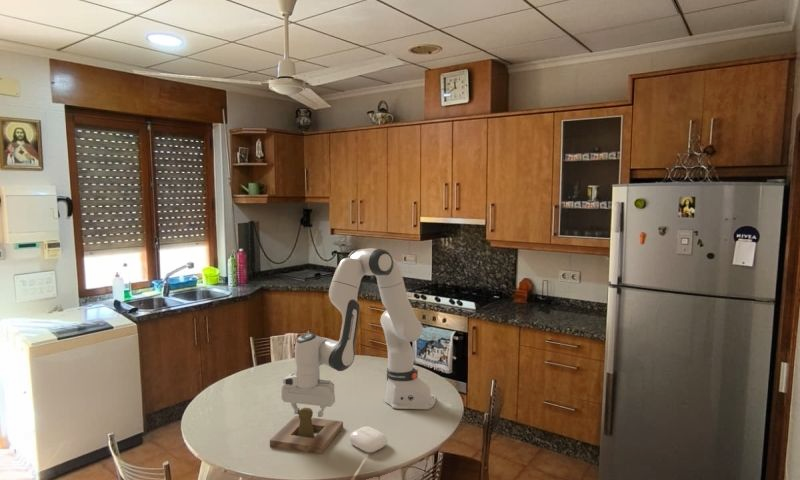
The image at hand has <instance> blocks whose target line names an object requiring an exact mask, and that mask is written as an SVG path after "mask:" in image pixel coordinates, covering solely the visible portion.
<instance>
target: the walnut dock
mask: <svg viewBox="0 0 800 480" xmlns="http://www.w3.org/2000/svg"><path fill="white" fill-rule="evenodd" d="M311 419H312V426H313V432H318V433H317V434H316V436H315V437H313V438H309V437H302V436H298V432H299V424H300V418H299V415H294V417H293V418H291V420H289V422H287V423H286V424H285V425H284V426H283V427H282V428H281V429H280V430H279V431H277V432H276V434H274V435H273V436H272V437H271V438H270V439H269V447H270V448H276V449H284V450H289V451H290V450H291V451H297V452H303V453H310V454H317V455H323V453H324V452H325V451H326V450H327V449H328V447H329V446H330V445H331V443H332V442H333V441H334V440H335V438H336V437H337V436H338V435H339V434H340V432H341V431H342V430H343V429H344V421H341V420H340V421H339V420H334V419H326V418H320V417H319V418H318V417H311Z"/></svg>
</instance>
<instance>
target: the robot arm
mask: <svg viewBox="0 0 800 480" xmlns="http://www.w3.org/2000/svg"><path fill="white" fill-rule="evenodd" d="M400 268H401V267H400V265H399V264H398V261H397V260H396V259H395V258H393V256H392V255H391V253H390V252H389V251H387V250H385V249H382V248H373V247H372V248H371V247H369V248H357V249H356V248H355V249H354V250H352V251H351V252H349V254H348V255H347V257H345V258H343V259H341V260H340V262H339V263H338V265H337V266H336V268H335V271H334V273H333V276H332V278H331V282H330V285H329V290H328V297H329V300H330V303H331V304H332V305H333V306H334V307H335V308H336V309H338V311H339V312H340V314H341V316H342V317H341V318H342V321H341V322H342V323H341V329H340V333H339V334H340V336H339V339H338V340H334V339H331V338H329V337H328V338H327V337H321V336H319V335H318V334H315V333H312V332H309V333H308V332H307V333H304V334H301V335H300V336H298V337H297V338H296V341H295V346H294V362H295V371H293V372H291V373H289V374H288V375H286V376H285V377H284V378H283V379H282V386H281V400H282V401H283V403H290V405H291V408H292V409H293V410H294V413H293V414H295V415H299V411H300V410H301V408H300V407H298V405H297V404H299V405H309V406H310V405H311V406H319V408H320V409H319V410H318V411H317V418H318V417H319V418H323V417H324V411H325V409H326V407H327V408H329V407H332V406H333V405H334V403H336V394H335V384H334V383H333V381H331V380H327V379H326V380H325V379H321V374H320V371H321V369H320V367H321V366H322V365H324V366H327V367H329V368H331V369H333V370H336V371H338V372H344V371H346V370H347V369H349V368H350V367H351V366H352V365H353V363H354V360H355V356H356V353H355V350H356V349H355V347H356V345H355V344H356V339H357V332H358V324H359V317H360V305H359V303H358V296H359V295H358V293H359V291H360V290H359V289H360V286H361V281H362V279H363V277H364V276H375V278H376V282H377V287H378V291H379V295H380V299H381V303H382V305H383V306H384V308H385V311H383V313H382V314H381V316H380V319H379V321H380V325H381V327H382V331H383V333H384V337H385V343H386V348H387V367H386V381H387V383H386V389H385V391H386V392H385V394H384V400H383V401H384V402H385V403H386V404H388V405H390V406H391V408H393V409H399V410H400V409H402V410H404V409H405V410H430V409H432V408H433V407H434V405H436V402H437V401H436V398H437V397H436V396H435V395H434V394H431V389H430V385H429V384H428V383H426V382H425V381H424V380H422V379H421V378H420V377H419V375H418V374H419V369H418V368H416V369H415V367H414V349H413V347H412V345H411V343H412V342H414V343H415V342H416V341H418V340H419V339H420V337H421V336H422V333H423V325H422V323H421V321H420V320H419V319H418V317H417V315H416V314H415V311H414V309H413V307H412V305H411V303H410V300H409V298H408V297H409V296H408V294H407V288H406V285H405V282H404V281H405V280H404V278H403V274H402V271H401V269H400Z"/></svg>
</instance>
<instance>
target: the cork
mask: <svg viewBox="0 0 800 480" xmlns="http://www.w3.org/2000/svg"><path fill="white" fill-rule="evenodd" d="M313 413H314V412H313V409H312V408H310V407H302V408H300V411H299V414H298V416H299V418H300V424H299V432H298V434H297V436H302V437H309V438H315V437H314V436H315V431H313V426H312V419H311V418H313Z"/></svg>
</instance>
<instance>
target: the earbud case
mask: <svg viewBox="0 0 800 480" xmlns="http://www.w3.org/2000/svg"><path fill="white" fill-rule="evenodd" d="M349 442H350V443H351V444H352V446H353V447H355V448H357V449H360V450H361V451H363V452H365V453H368V454H371V453H375V452H376V451H377V452H378V451H379V450H380V449H383V448H385V446H387V443H388V438H387V436H386V435H385V434H384V433H383V432H382V431H380V430H378V429H376V428H374V427H372V426H367V425H365V426H362V427H359V428H357V429H355V430H353V431H352V432H351V433H350V434H349Z"/></svg>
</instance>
